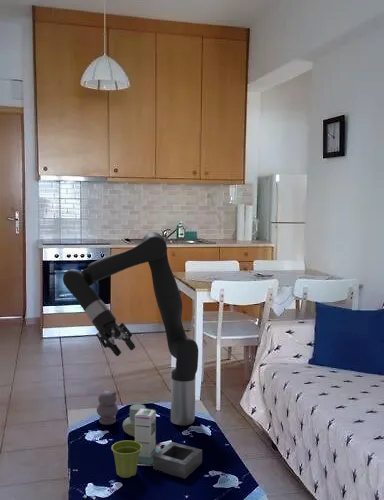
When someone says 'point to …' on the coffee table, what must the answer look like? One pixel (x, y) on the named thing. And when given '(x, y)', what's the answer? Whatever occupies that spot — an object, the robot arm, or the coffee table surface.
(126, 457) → the plant pot
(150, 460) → the mat
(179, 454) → the collar
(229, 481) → the coffee table surface
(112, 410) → the cat figurine
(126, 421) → the air freshener
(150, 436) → the syrup box
